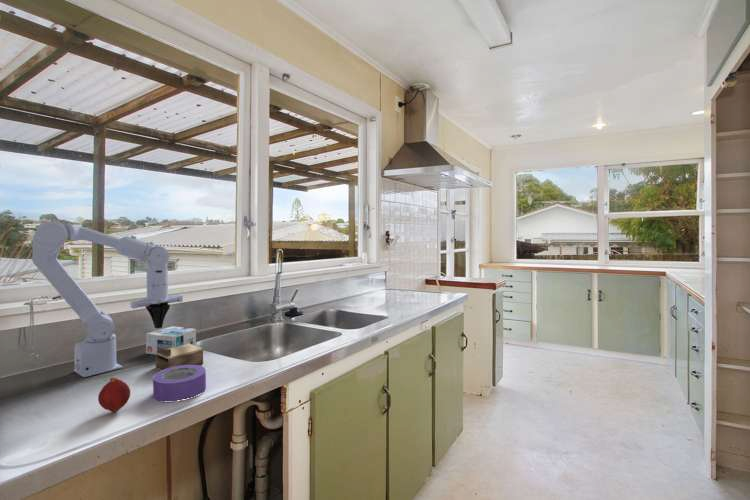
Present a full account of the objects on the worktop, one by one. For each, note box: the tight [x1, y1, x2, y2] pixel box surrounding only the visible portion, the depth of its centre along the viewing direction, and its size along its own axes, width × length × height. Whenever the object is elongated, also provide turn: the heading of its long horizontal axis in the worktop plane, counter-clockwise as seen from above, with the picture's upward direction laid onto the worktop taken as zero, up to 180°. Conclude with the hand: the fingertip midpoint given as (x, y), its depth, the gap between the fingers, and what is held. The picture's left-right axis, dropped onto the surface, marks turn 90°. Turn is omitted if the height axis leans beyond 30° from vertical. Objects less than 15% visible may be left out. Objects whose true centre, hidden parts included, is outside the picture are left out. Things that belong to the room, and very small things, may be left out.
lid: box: [156, 344, 204, 359], centre depth 113 cm, size 10×8×2 cm
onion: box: [97, 376, 131, 413], centre depth 84 cm, size 6×6×8 cm
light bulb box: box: [145, 325, 197, 356], centre depth 126 cm, size 11×7×11 cm
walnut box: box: [155, 350, 204, 371], centre depth 113 cm, size 10×8×4 cm
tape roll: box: [152, 365, 207, 403], centre depth 95 cm, size 12×12×5 cm
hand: (158, 327), depth 118 cm, fingers closed
